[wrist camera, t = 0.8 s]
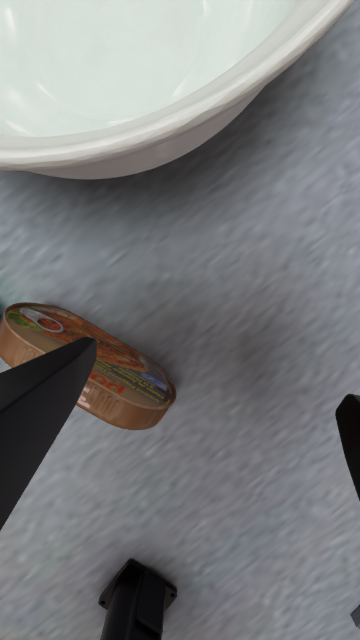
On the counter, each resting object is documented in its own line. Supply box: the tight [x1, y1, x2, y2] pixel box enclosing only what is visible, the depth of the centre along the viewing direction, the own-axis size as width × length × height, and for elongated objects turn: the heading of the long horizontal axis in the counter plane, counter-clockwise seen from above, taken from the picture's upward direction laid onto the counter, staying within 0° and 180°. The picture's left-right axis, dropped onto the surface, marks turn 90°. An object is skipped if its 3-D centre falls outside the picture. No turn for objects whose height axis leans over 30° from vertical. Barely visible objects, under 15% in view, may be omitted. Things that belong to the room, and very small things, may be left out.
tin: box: [0, 303, 176, 430], centre depth 21 cm, size 15×3×8 cm, turn 59°
